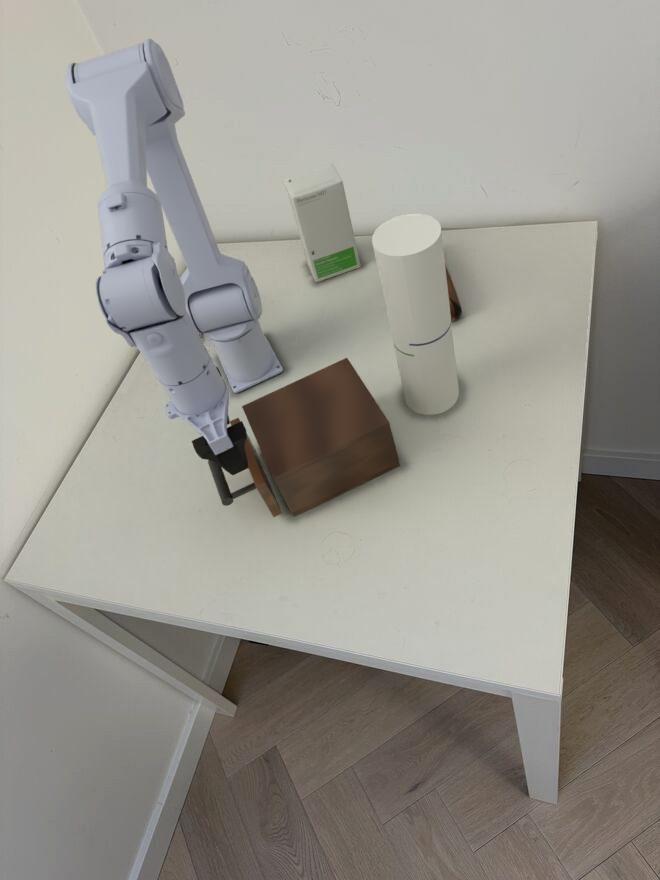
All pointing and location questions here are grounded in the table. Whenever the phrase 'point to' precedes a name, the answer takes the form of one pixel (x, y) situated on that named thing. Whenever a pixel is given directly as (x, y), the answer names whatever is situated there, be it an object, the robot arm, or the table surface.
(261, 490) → the drawer
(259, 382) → the robot arm
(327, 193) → the cosmetic box
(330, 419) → the cabinet
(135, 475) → the table surface
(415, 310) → the cylindrical container
